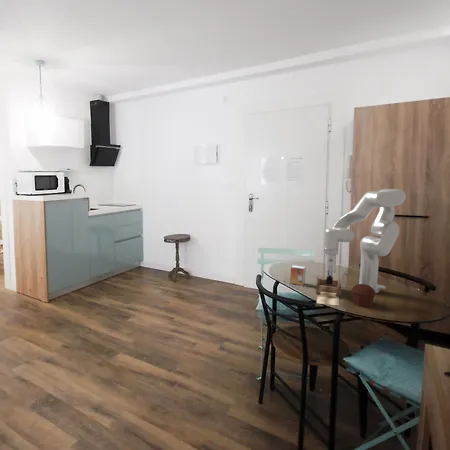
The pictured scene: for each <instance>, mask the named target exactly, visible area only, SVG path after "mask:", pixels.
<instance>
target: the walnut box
mask: <svg viewBox="0 0 450 450" xmlns="http://www.w3.org/2000/svg"><path fill="white" fill-rule="evenodd" d="M326 281H327V278H320V277H319V275H317V276H316V289H315V295H316V294H317V295H320V294H321V292H329V293H336V297H339V298H341V297H342V282H341V278H340V277H339V278H338V279H333V284H327V283H326Z"/></svg>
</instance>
